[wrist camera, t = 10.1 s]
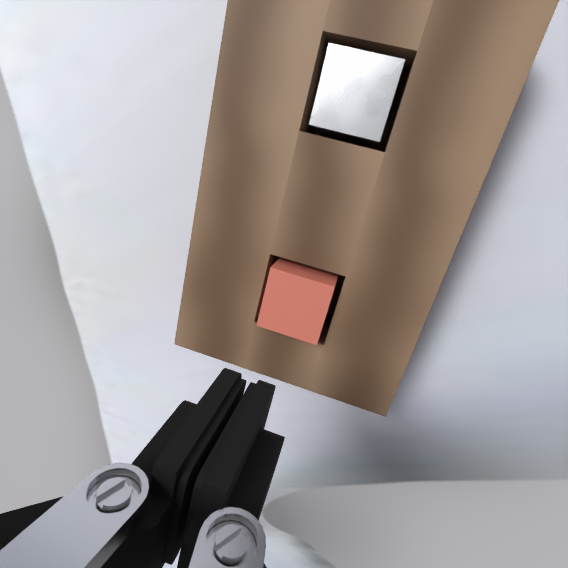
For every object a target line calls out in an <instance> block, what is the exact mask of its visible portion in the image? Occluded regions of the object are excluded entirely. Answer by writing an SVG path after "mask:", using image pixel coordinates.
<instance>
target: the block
mask: <svg viewBox="0 0 568 568" xmlns="http://www.w3.org/2000/svg"><path fill="white" fill-rule="evenodd" d="M558 2H559V0H228V3H227V9H226V16H225V22H224V29H223V35H222V42H221V48H220V54H219V61H218V67H217V74H216V80H215V87H214V93H213V99H212V106H211V112H210V119H209V125H208V132H207V138H206V145H205V151H204V157H203V164H202V170H201V177H200V183H199V190H198V196H197V202H196V209H195V215H194V222H193V228H192V235H191V241H190V247H189V254H188V260H187V267H186V273H185V280H184V286H183V292H182V299H181V305H180V312H179V318H178V325H177V331H176V337H175V344H176V345H178V346H181V347H184V348H187V349H190V350H193V351H196V352H199V353H202V354H205V355H208V356H211V357H213V358H216V359H219V360H222V361H225V362H228V363H231V364H234V365H237V366H240V367H243V368H245V369H248V370H251V371H254V372H257V373H260V374H263V375H266V376H269V377H272V378H275V379H278V380H280V381H283V382H286V383H289V384H292V385H295V386H298V387H301V388H304V389H307V390H310V391H313V392H315V393H318V394H321V395H324V396H327V397H330V398H333V399H336V400H339V401H342V402H345V403H347V404H350V405H353V406H356V407H359V408H362V409H365V410H368V411H371V412H374V413H377V414H380V415H382V416H385V417H386V415H387V412H388V410H389V408H390V405H391V403H392V400H393V398H394V396H395V393H396V391H397V388H398V386H399V384H400V381H401V379H402V376H403V374H404V372H405V369H406V367H407V364H408V362H409V360H410V357H411V355H412V352H413V350H414V348H415V345H416V343H417V340H418V338H419V336H420V333H421V331H422V328H423V326H424V324H425V321H426V319H427V316H428V314H429V311H430V309H431V307H432V304H433V302H434V299H435V297H436V295H437V292H438V290H439V287H440V285H441V283H442V280H443V278H444V275H445V273H446V271H447V268H448V266H449V263H450V261H451V259H452V256H453V254H454V251H455V249H456V247H457V244H458V242H459V239H460V237H461V235H462V232H463V230H464V227H465V225H466V223H467V220H468V218H469V215H470V213H471V211H472V208H473V206H474V203H475V201H476V199H477V196H478V194H479V191H480V189H481V187H482V184H483V182H484V179H485V177H486V175H487V172H488V170H489V167H490V165H491V163H492V160H493V158H494V155H495V153H496V151H497V148H498V146H499V143H500V141H501V139H502V136H503V134H504V131H505V129H506V126H507V124H508V122H509V119H510V117H511V114H512V112H513V110H514V107H515V105H516V102H517V100H518V98H519V95H520V93H521V90H522V88H523V86H524V83H525V81H526V78H527V76H528V74H529V71H530V69H531V66H532V64H533V62H534V59H535V57H536V54H537V52H538V50H539V47H540V45H541V42H542V40H543V38H544V35H545V33H546V30H547V28H548V26H549V23H550V21H551V18H552V16H553V14H554V11H555V9H556V6H557V4H558ZM329 43H332V44H337V45H341V46H346V47H351V48H355V49H360V50H364V51H369V52H374V53H378V54H383V55H388V56H392V57H397V58H401V59H405V62H404V65H403V68H402V71H401V75H400V78H399V81H398V84H397V88H396V91H395V94H394V97H393V101H392V104H391V107H390V110H389V113H388V117H387V120H386V123H385V126H384V130H383V133H382V136H381V139H380V142H379V145H378V147H376V146H372V145H368V144H364V143H360V142H356V141H352V140H348V139H344V138H340V137H336V136H332V135H328V134H324V133H320V132H319V131H318V130H316V129H315V128H313V127H312V126H310V125H309V122H310V118H311V114H312V110H313V106H314V102H315V98H316V94H317V90H318V85H319V81H320V77H321V73H322V69H323V65H324V61H325V57H326V53H327V48H328V44H329ZM280 257H282V258H285V259H289V260H292V261H295V262H299V263H302V264H305V265H309V266H312V267H316V268H319V269H322V270H326V271H329V272H332V273H336V274H339V275H338V278H337V282H336V285H335V288H334V292H333V295H332V298H331V301H330V304H329V308H328V311H327V314H326V317H325V321H324V324H323V327H322V330H321V334H320V337H319V340H318V343H317V345H314V344H311V343H308V342H305V341H302V340H299V339H296V338H293V337H290V336H287V335H283V334H280V333H277V332H274V331H271V330H268V329H265V328H262V327H259V326H256V325H257V321H258V317H259V313H260V309H261V305H262V300H263V296H264V292H265V288H266V284H267V279H268V275H269V271H270V267H271V266H272V265H273V264H274V263H275V262H276V261H277V260H278V259H279V258H280Z"/></svg>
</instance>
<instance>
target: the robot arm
mask: <svg viewBox="0 0 568 568" xmlns="http://www.w3.org/2000/svg"><path fill="white" fill-rule="evenodd" d="M241 375H242V374H241V373H238V372H235V371H233V370H230V369H227V368H224V369H223V370H222V372H221V373H220V374H219V376H218V377H217V378H216V380H215V381H214V382H213V384H212V385H211V386H210V388H209V389H208V390H207V392H206V393H205V394H204V396H203V397H202V398H201V400H200V401H199V402H198V404H194V403H191V402H189V401H186V400H185V401H183V402H182V403H181V404H180V405H179V406H178V408H177V409H176V410H175V411H174V412H173V414H172V415H171V416H170V417H169V419H168V420H167V421H166V422H165V423H164V425H163V426H162V427H161V428H160V430H159V431H158V432H157V433H156V435H155V436H154V437H153V438H152V439H151V441H150V442H149V443H148V444H147V446H146V447H145V448H144V449H143V450H142V452H141V453H140V454H139V455H138V457H137V458H136V459H135V460H134V462H133V463H132V464H128V463H114V464H108V465H106V466H103V467H101V468H99V469H97V470H96V471H94V472H92V473H91V474H90V475H88V476H87V477H86V478H85V479H84V480H83V481H81V482H80V483H79V484H78V485H77V486H76V487H74V488H73V489H72V490H71V491H70V492H69V493H67V494H66V495H65V496H63V497H60V498H56V499H52V500H49V501H45V502H42V503H38V504H34V505H31V506H27V507H24V508H20V509H17V510H13V511H9V512H6V513H2V514H0V568H162V567H163V565H164V564H165V562H166V563H168V564H170V565H172V564H173V562H174V560H175V558H176V557H177V555H178V553H179V551H180V549H181V551H180V556H179V561H178V566H177V568H266V566H265V564H264V557H265V549H266V537H265V533H264V530H263V527H262V525H261V524H260V523H259V521H258V520H259V517H260V514H261V511H262V508H263V505H264V502H265V499H266V496H267V493H268V490H269V487H270V483H271V480H272V477H273V474H274V471H275V468H276V465H277V461H278V458H279V455H280V452H281V448H282V445H283V442H284V438H285V437H283V436H280V435H278V434H275V433H272V432H270V431H267V430H264V427H265V423H266V420H267V416H268V412H269V409H270V405H271V402H272V398H273V394H274V391H275V385H272V384H270V383H267V382H264V381H261V380H258V382H257V384H255V383H252V382H251V383H250V384H249V386H248V388H247V389H246V391H245V393H244V389H245V385H246V380H244V379H241ZM243 393H244V395H243Z"/></svg>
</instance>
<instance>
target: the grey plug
mask: <svg viewBox="0 0 568 568" xmlns="http://www.w3.org/2000/svg"><path fill="white" fill-rule="evenodd" d="M404 62H405V59H401V58H397V57H392V56H388V55H383V54H378V53H374V52H369V51H364V50H360V49H355V48H351V47H346V46H341V45H337V44H332V43H329V44H328V48H327V53H326V57H325V61H324V65H323V69H322V73H321V77H320V81H319V85H318V90H317V94H316V98H315V102H314V106H313V110H312V114H311V118H310V122H309V125H310V126H312V127H313V128H315V129H316V130H318V131H319V132H320V133H324V134H328V135H332V136H336V137H340V138H344V139H348V140H352V141H356V142H360V143H364V144H368V145H372V146H376V147H378V145H379V142H380V139H381V136H382V133H383V130H384V126H385V123H386V120H387V117H388V113H389V110H390V107H391V104H392V101H393V97H394V94H395V91H396V88H397V84H398V81H399V78H400V75H401V71H402V68H403V65H404Z"/></svg>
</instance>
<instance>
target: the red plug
mask: <svg viewBox="0 0 568 568" xmlns="http://www.w3.org/2000/svg"><path fill="white" fill-rule="evenodd" d="M338 275H339V274H336V273H332V272H329V271H326V270H322V269H319V268H316V267H312V266H309V265H305V264H302V263H299V262H295V261H292V260H289V259H285V258H282V257H280V258H279V259H278V260H277V261H276V262H275V263H274V264H273V265H272V266H271V267H270V271H269V275H268V279H267V284H266V288H265V292H264V296H263V300H262V305H261V309H260V313H259V317H258V321H257V325H256V326H259V327H262V328H265V329H268V330H271V331H274V332H277V333H280V334H283V335H287V336H290V337H293V338H296V339H299V340H302V341H305V342H308V343H311V344H314V345H317V343H318V340H319V337H320V334H321V330H322V327H323V324H324V321H325V317H326V314H327V311H328V308H329V304H330V301H331V298H332V295H333V292H334V288H335V285H336V282H337V278H338Z"/></svg>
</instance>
